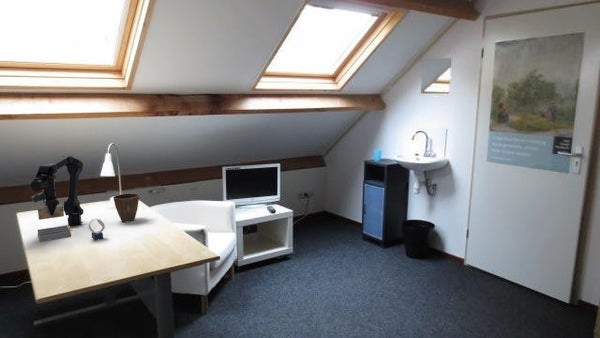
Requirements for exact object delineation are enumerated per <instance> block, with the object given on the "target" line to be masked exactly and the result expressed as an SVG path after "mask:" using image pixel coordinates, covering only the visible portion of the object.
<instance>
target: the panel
mask: <svg viewBox="0 0 600 338" xmlns="http://www.w3.org/2000/svg"><path fill="white" fill-rule="evenodd" d="M63 207H64V204H63V205H57V206H56V209H55V211H54V214H53V215H52V216H51V215H50V212H49V209H48V207H47V206H45V207H38V208H37V214H38V215H37V216H38V220H48V219H54V218H61V217H64V216H65V212H64V208H63Z"/></svg>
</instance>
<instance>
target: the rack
mask: <svg viewBox="0 0 600 338" xmlns="http://www.w3.org/2000/svg"><path fill="white" fill-rule="evenodd" d="M71 231H72V230H71V226H68V224H67V225H60V226H54V227H47V228H40V229H37V235H38V238H39V242H46V241H53V240H58V239H64V238H70V237H72V233H71Z"/></svg>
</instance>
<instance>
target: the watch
mask: <svg viewBox="0 0 600 338" xmlns="http://www.w3.org/2000/svg"><path fill="white" fill-rule="evenodd" d="M94 221H97V223H98V224H99V225H100V226H101V228H100V230H98V231H94V230H93V229H92V226H91V224H92V223H93V222H94ZM87 225H88V229H89V230H90V232H91V239H92V238H93V239H92V240H94V241H98V239H99V240H103V239H104V233H103V231H104V229H105V228H106V225H105V223H104V222H103V221H102V219H101V218H92V219H91V220H90V221H89V222H88V224H87Z"/></svg>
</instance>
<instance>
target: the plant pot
mask: <svg viewBox="0 0 600 338" xmlns="http://www.w3.org/2000/svg"><path fill="white" fill-rule="evenodd" d="M113 201H114V202H113V203H114V206H115V209H116V211H117V214H118V217H119V219H120V220H121V223H130V222H131V221H132V222H134V221H135V219H136V216H137V212H138V207H139V203H140V202H139V201H140V194H137V193H122V194H117V195H114V196H113Z"/></svg>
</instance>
